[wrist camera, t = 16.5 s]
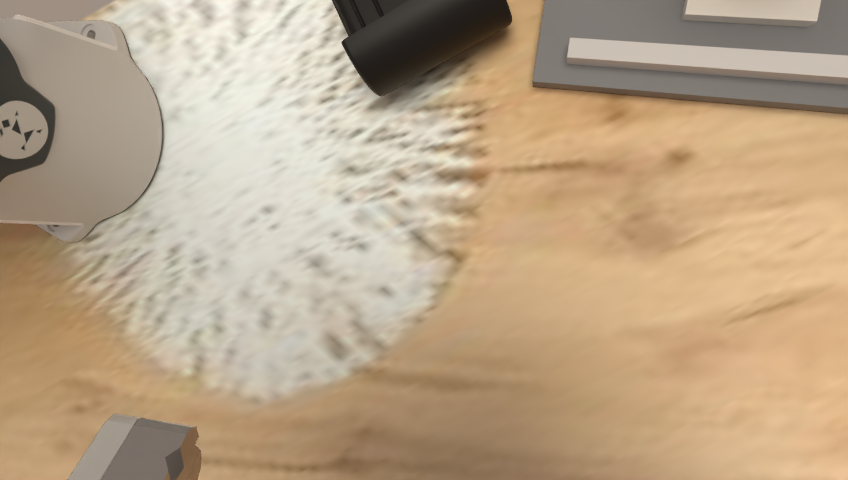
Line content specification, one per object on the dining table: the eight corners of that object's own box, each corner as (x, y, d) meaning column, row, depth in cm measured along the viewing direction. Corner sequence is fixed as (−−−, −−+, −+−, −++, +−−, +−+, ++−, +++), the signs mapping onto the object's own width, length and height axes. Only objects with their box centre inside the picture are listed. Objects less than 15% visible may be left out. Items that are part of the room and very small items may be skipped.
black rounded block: (393, 107, 40) (360, 85, 33) (353, 22, 40) (313, -16, 33) (517, 38, 37) (509, 0, 31) (474, -51, 38) (456, -108, 31)
